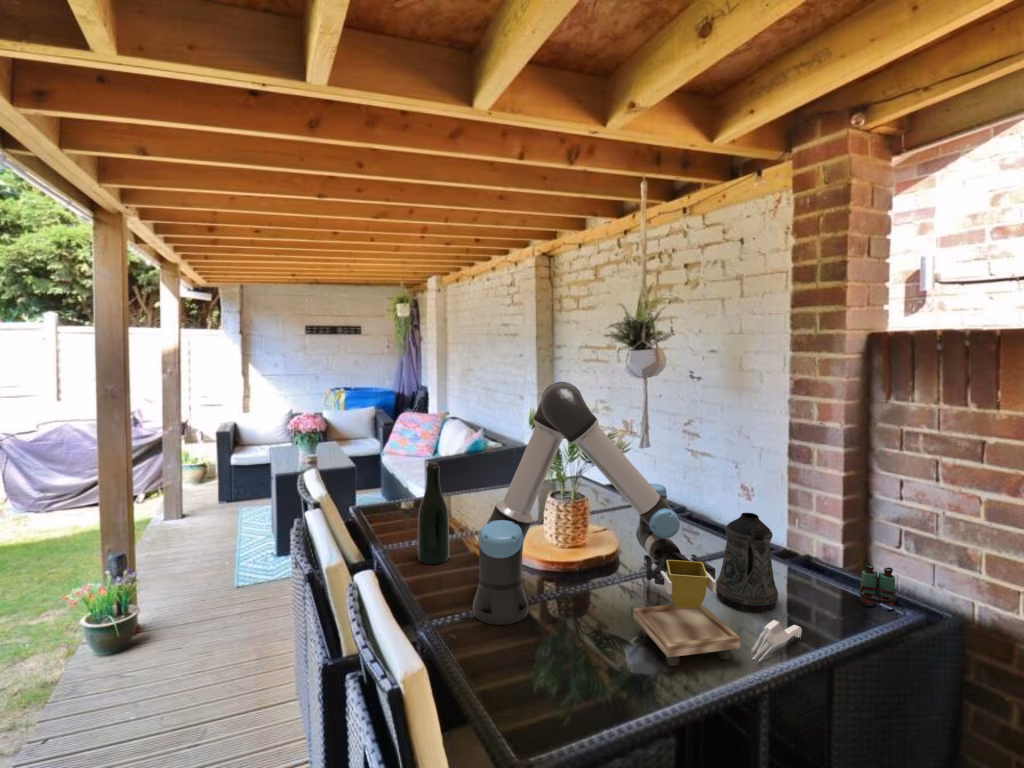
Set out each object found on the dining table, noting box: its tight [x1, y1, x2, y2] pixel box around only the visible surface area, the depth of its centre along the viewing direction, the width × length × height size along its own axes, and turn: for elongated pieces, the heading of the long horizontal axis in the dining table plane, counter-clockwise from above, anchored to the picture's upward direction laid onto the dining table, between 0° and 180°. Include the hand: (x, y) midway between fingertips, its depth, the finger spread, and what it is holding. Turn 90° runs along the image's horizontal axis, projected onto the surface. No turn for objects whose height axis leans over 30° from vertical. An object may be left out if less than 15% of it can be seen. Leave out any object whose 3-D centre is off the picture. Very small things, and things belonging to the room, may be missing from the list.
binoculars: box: [858, 563, 899, 607], centre depth 157 cm, size 9×11×10 cm
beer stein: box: [715, 512, 779, 614], centre depth 158 cm, size 16×19×25 cm
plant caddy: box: [633, 603, 741, 667], centre depth 135 cm, size 18×18×6 cm
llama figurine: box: [749, 619, 803, 662], centre depth 134 cm, size 2×11×18 cm
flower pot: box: [666, 560, 708, 609], centre depth 134 cm, size 9×9×9 cm
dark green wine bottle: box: [417, 461, 450, 565], centre depth 187 cm, size 10×10×33 cm
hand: (692, 587), depth 130 cm, fingers closed on flower pot, 10 cm apart
